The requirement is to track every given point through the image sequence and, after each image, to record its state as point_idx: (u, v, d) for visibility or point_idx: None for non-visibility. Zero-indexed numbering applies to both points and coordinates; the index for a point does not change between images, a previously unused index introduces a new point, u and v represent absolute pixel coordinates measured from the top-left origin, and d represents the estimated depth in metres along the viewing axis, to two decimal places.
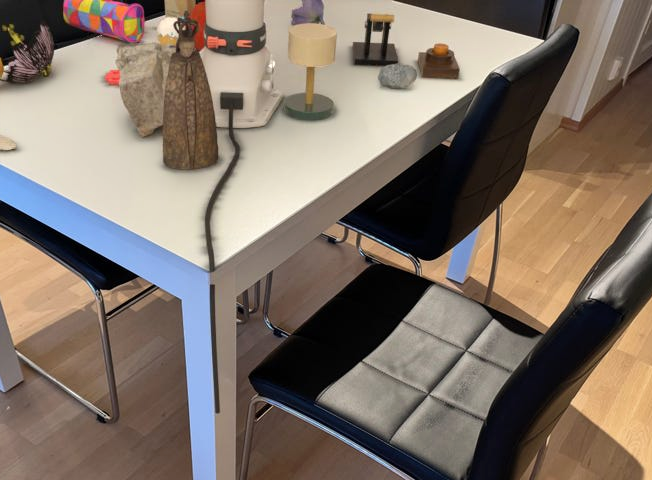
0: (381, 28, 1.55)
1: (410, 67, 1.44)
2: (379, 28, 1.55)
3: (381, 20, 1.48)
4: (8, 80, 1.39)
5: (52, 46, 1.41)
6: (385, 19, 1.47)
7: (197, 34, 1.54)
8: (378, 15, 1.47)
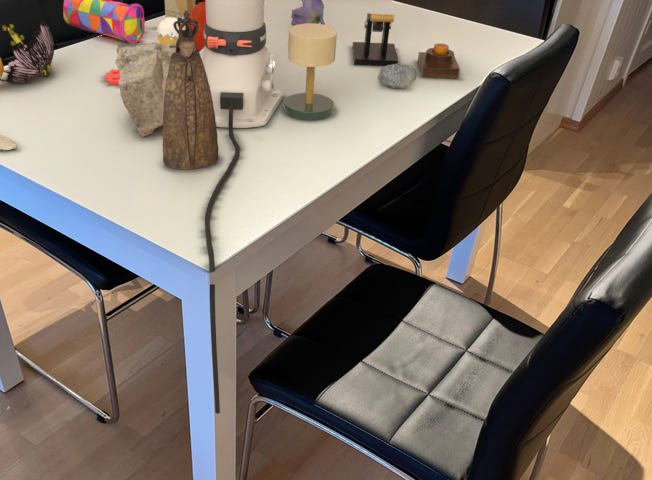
0: (381, 28, 1.55)
1: (410, 67, 1.44)
2: (379, 28, 1.55)
3: (381, 20, 1.48)
4: (8, 80, 1.39)
5: (52, 46, 1.41)
6: (385, 19, 1.47)
7: (197, 34, 1.54)
8: (378, 15, 1.47)
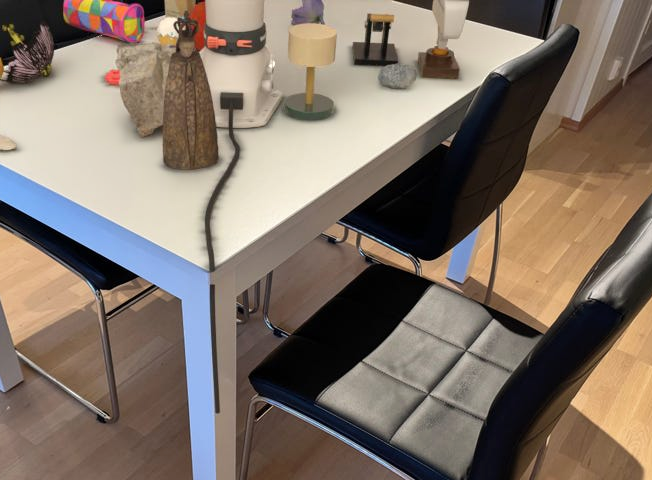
0: (381, 28, 1.55)
1: (410, 67, 1.44)
2: (379, 28, 1.55)
3: (381, 20, 1.48)
4: (8, 80, 1.39)
5: (52, 46, 1.41)
6: (385, 19, 1.47)
7: (197, 34, 1.54)
8: (378, 15, 1.47)
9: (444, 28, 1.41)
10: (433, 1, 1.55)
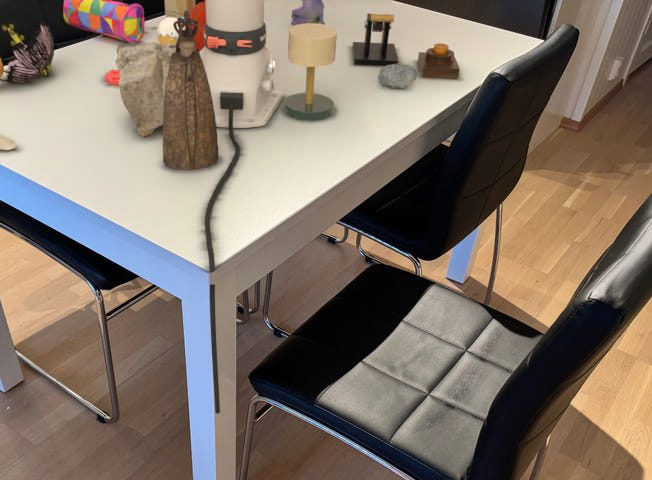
0: (381, 28, 1.55)
1: (410, 67, 1.44)
2: (379, 28, 1.55)
3: (381, 20, 1.48)
4: (8, 80, 1.39)
5: (52, 46, 1.41)
6: (385, 19, 1.47)
7: (197, 34, 1.54)
8: (378, 15, 1.47)
9: None
10: None
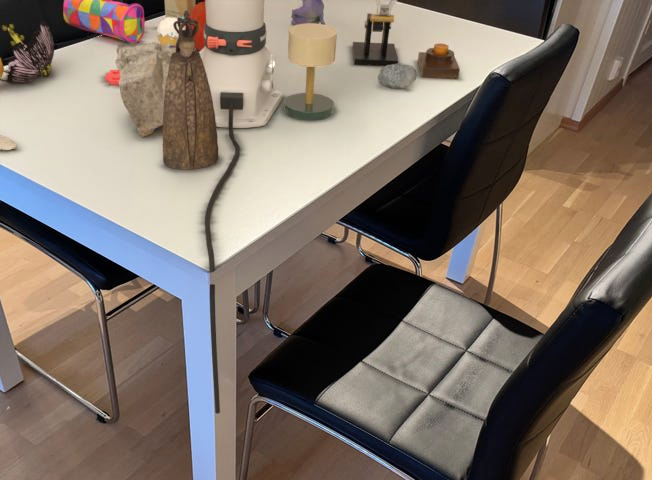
0: (381, 28, 1.55)
1: (410, 67, 1.44)
2: (379, 28, 1.55)
3: (381, 20, 1.48)
4: (8, 80, 1.39)
5: (52, 46, 1.41)
6: (385, 19, 1.47)
7: (197, 34, 1.54)
8: (378, 15, 1.47)
9: None
10: None
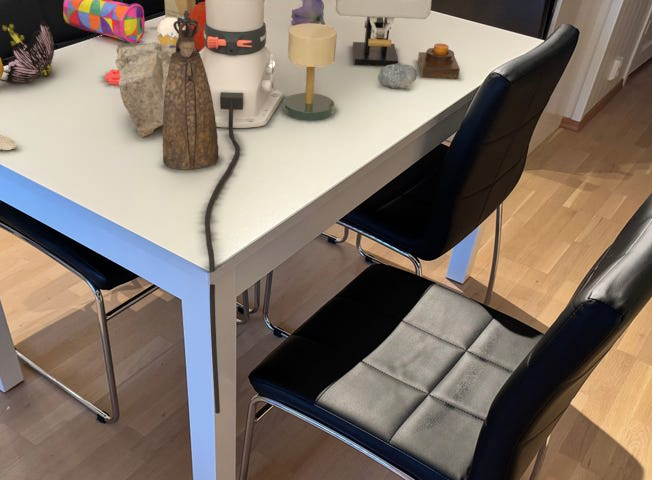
0: None
1: (410, 67, 1.44)
2: None
3: None
4: (8, 80, 1.39)
5: (52, 46, 1.41)
6: (382, 45, 1.50)
7: (197, 34, 1.54)
8: (375, 42, 1.50)
9: (430, 8, 1.45)
10: (341, 4, 1.44)
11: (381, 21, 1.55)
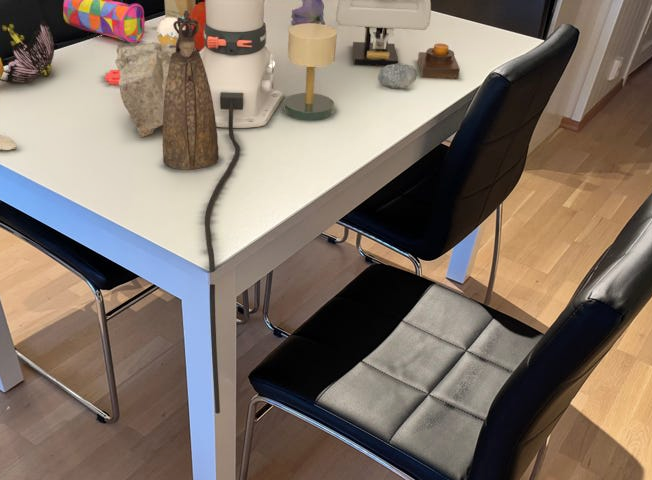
0: (380, 33, 1.57)
1: (410, 67, 1.44)
2: None
3: None
4: (8, 80, 1.39)
5: (52, 46, 1.41)
6: (380, 58, 1.53)
7: (197, 34, 1.54)
8: (374, 55, 1.52)
9: (429, 20, 1.46)
10: (341, 14, 1.46)
11: None
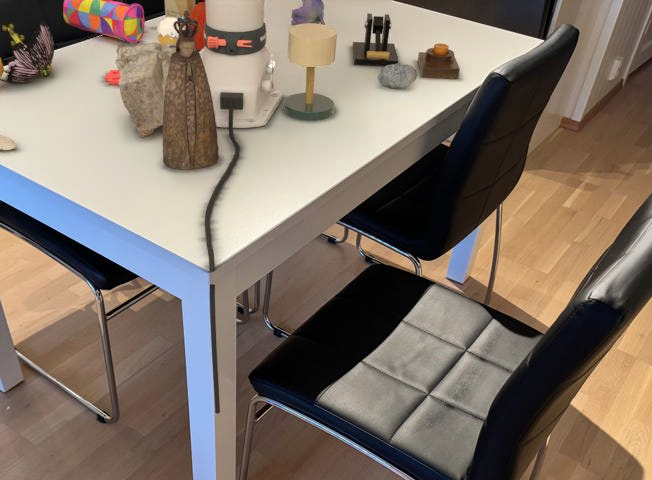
0: (380, 33, 1.57)
1: (410, 67, 1.44)
2: None
3: None
4: (8, 80, 1.39)
5: (52, 46, 1.41)
6: (380, 58, 1.53)
7: (197, 34, 1.54)
8: (374, 55, 1.52)
9: None
10: None
11: (381, 23, 1.55)
